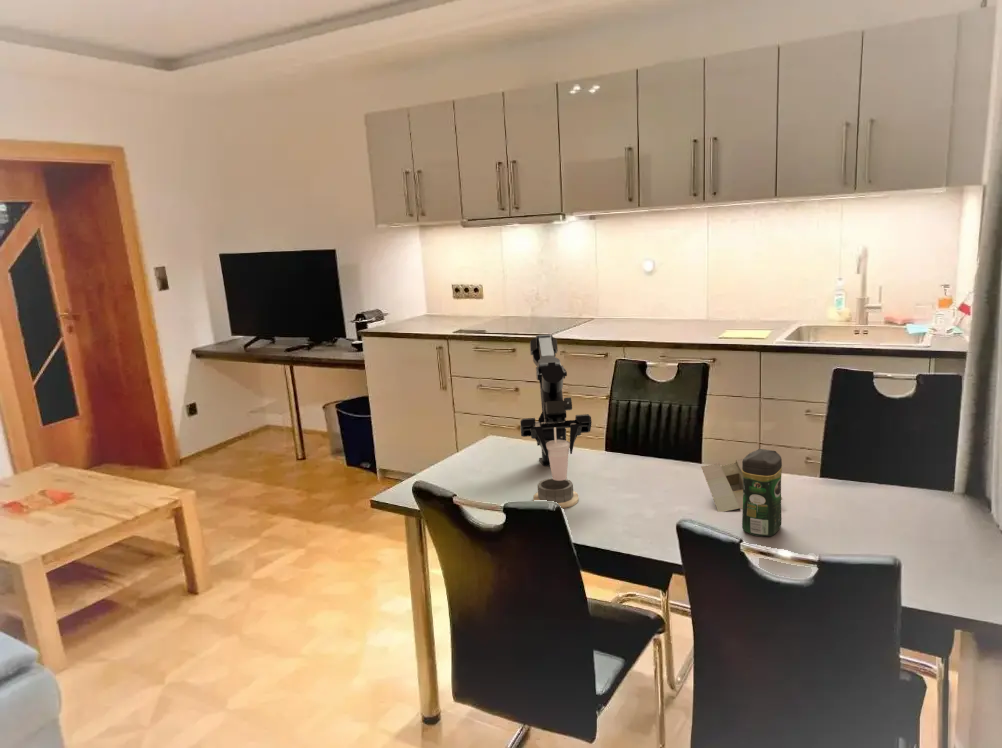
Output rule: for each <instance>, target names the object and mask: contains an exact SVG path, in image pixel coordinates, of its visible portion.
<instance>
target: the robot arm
mask: <svg viewBox="0 0 1002 748" xmlns="http://www.w3.org/2000/svg"><path fill="white" fill-rule="evenodd" d="M558 350H559V349H558V339H557V338H555V337H553V334H550V333H548V334H538V335H536V336H535V338H533V339H531V340H530V341H529V352H530V356H532V362H533V363H534V364H535V366H536V367H535V376H536V380H537V381H538V383H539V389H540V402H541V405H540V406H541V413H540V416H539V417H538V420H536V418H535V417H528V418H527V417H525V418H522V419H521V420H520V422H519V423H520V435H521V437H531V439H534V440H535V441H536V444H537V446H540V448H541V457H539V458H538V460H539V462H540V463H541V464H542V466H550V461H549V456H548V450H547V448H546V443H547V442H549V441H552V440H554V427H556V438H557V440H566V441H567V428H568V429H570V430H569V442H570V448H569V453H570V455H572V454H573V450H574V446H575V443H576V440H577V437H579V436H581V435H582V434H583V433H584V434H585V433H590V432H591V430H592V428H591V427H592V424H593V423H592V417H591V415H590V414H586V413H585V414H584V413H583V414H576V415H575V419H570V420H567V411H572V409H573V400H572V397H564V394H563V387H564V380H565V379H566V377H567V376H568V374H567V369H566V368H564V367H565V366H564V365H562V364H561V360H560V358H557V357H556V354H558Z"/></svg>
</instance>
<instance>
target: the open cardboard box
mask: <svg viewBox="0 0 1002 748" xmlns="http://www.w3.org/2000/svg"><path fill="white" fill-rule="evenodd" d="M744 458H745V457H744ZM744 458H740V459H736V460H735V462H733V463H729V464H724V465H721V464H720V462H718V463H713V464H708V465H702V466H700V469H701V470H702V473H703V476H704V477H705V481H706V483H707V486H708V488H709V492H710V494H711V497H712V499H713V502H714V504H715V507H716V511H717V512H719V513H721V512H729V511H733V510H743V474H742V461H743V459H744ZM782 500H783V497H781V501H782Z"/></svg>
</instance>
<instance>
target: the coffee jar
mask: <svg viewBox="0 0 1002 748" xmlns="http://www.w3.org/2000/svg"><path fill="white" fill-rule="evenodd" d="M742 459H743V458H742ZM782 469H783V463H782V456H781V455H780V454H779V453H778V452H777V451H776V450H774V449H773V450H770V449H764V448H758V449H756V450H754V451H752V452H749V453H748V454H747V455H746V456H745V457H744V459H743V461H742V474H743V509H742V515H741V516H742V517H741V518H742V519H741V522H742V523H741V524H742V525H741V527H742V530H743V532H746V533H748V534H749V535H752V536H756V537H772V536H774V535H776V533H778V532H779V530H780V528H781V527H782V500H781V498H782V473H783V472H782V471H783V470H782Z"/></svg>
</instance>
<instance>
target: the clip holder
mask: <svg viewBox="0 0 1002 748" xmlns="http://www.w3.org/2000/svg"><path fill="white" fill-rule="evenodd" d="M579 497H580V496H579V494H578V493H577V492H576V491H575V490H574V483H573V481H572V480H570V479H568V478H566V479H565V480H561V481H557V480H553V478H552V477H551V478H546V479H543V480H540V481H539V482H538V483H537V492H536V493H534V495H533V498H532V499H533V501H534V500H547V501H554V502H557V503H558V504H559V505H560V506H561V508H562V509H566V508H570V507H574V506H575V505H577V503H578V502H579V499H580V498H579Z"/></svg>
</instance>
